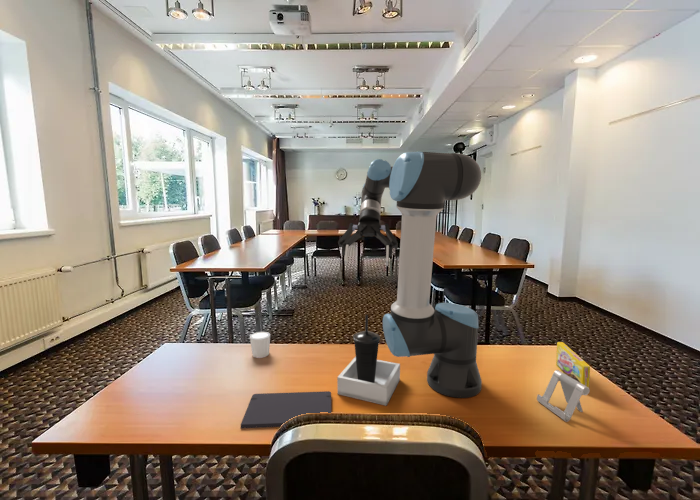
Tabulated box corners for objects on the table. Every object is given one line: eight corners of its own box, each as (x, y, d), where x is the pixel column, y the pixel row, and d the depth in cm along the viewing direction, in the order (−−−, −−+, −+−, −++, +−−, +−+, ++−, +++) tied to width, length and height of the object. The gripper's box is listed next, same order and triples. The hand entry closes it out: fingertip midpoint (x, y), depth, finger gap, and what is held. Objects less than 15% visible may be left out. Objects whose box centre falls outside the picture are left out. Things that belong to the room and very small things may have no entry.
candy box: (554, 365, 109) (556, 341, 108) (561, 366, 108) (564, 341, 107) (580, 393, 93) (583, 365, 92) (589, 394, 93) (592, 366, 91)
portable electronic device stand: (536, 402, 89) (538, 372, 88) (560, 397, 91) (563, 369, 90) (563, 422, 81) (567, 390, 80) (590, 417, 82) (593, 386, 81)
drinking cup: (379, 375, 100) (380, 311, 98) (379, 389, 93) (380, 320, 90) (354, 374, 101) (354, 310, 98) (352, 388, 94) (352, 319, 91)
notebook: (240, 430, 79) (331, 426, 80) (240, 424, 78) (331, 420, 80) (253, 399, 91) (331, 396, 92) (252, 393, 91) (331, 391, 92)
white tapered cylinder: (246, 357, 114) (246, 338, 113) (256, 349, 121) (255, 330, 120) (265, 359, 113) (265, 339, 112) (274, 350, 120) (273, 332, 119)
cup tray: (399, 379, 100) (400, 363, 99) (386, 405, 87) (386, 387, 86) (356, 370, 105) (356, 355, 105) (337, 394, 92) (337, 377, 92)
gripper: (404, 222, 124) (404, 270, 111) (337, 221, 127) (330, 268, 114) (405, 208, 118) (405, 257, 105) (335, 208, 121) (327, 255, 108)
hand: (366, 263), depth 110 cm, fingers open, 13 cm apart
